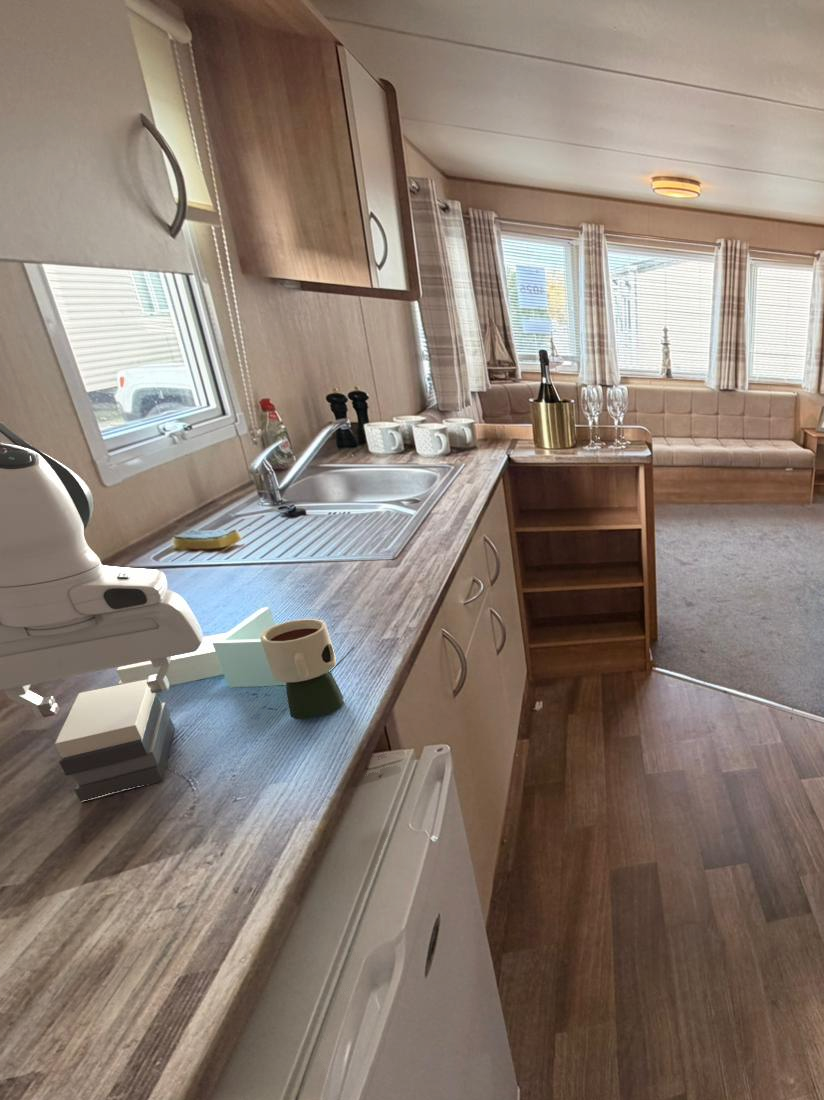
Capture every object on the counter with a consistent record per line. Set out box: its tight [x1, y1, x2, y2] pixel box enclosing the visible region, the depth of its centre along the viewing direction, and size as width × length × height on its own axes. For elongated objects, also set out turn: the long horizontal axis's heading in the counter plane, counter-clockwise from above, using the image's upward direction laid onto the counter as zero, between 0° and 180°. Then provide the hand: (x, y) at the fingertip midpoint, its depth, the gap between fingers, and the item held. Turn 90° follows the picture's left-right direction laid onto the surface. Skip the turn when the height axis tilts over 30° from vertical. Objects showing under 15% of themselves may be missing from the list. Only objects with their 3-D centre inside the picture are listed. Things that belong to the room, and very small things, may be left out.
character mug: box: [260, 618, 345, 720], centre depth 87 cm, size 11×7×13 cm, turn 37°
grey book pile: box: [58, 692, 176, 802], centre depth 77 cm, size 13×7×6 cm, turn 37°
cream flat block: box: [54, 679, 155, 758], centre depth 76 cm, size 12×6×2 cm, turn 37°
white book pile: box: [116, 632, 227, 687], centre depth 96 cm, size 12×7×4 cm, turn 127°
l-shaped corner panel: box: [212, 606, 286, 689], centre depth 99 cm, size 12×12×8 cm
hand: (107, 701), depth 75 cm, fingers open, 8 cm apart
